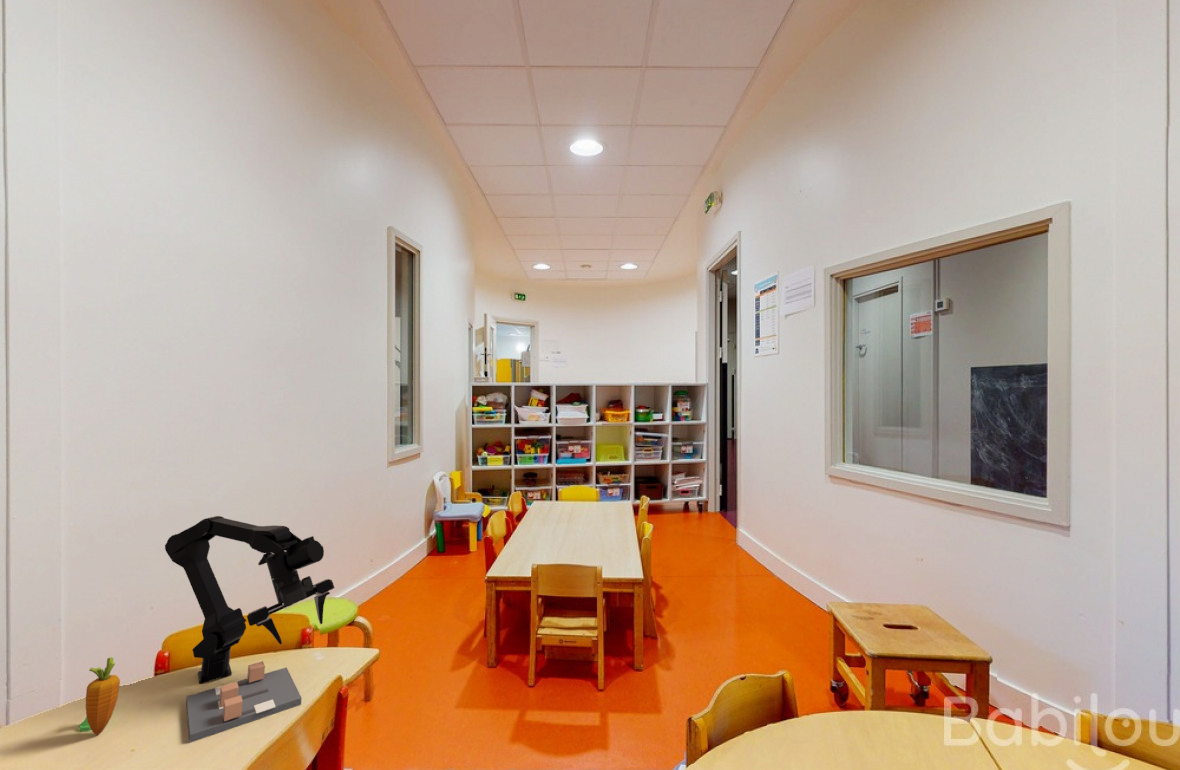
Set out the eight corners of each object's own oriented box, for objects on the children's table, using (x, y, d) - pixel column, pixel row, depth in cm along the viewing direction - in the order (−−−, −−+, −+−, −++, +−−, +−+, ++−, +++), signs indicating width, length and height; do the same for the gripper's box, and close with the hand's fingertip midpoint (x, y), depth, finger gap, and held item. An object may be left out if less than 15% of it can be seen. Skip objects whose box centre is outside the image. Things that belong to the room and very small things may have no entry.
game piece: (103, 727, 98) (106, 698, 99) (74, 734, 96) (78, 704, 97) (110, 716, 102) (114, 688, 103) (83, 722, 100) (86, 693, 100)
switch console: (185, 702, 108) (186, 695, 108) (286, 673, 121) (286, 666, 121) (189, 743, 95) (190, 735, 95) (301, 705, 108) (301, 697, 108)
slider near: (222, 714, 101) (224, 700, 101) (239, 709, 103) (240, 695, 103) (224, 721, 99) (225, 706, 99) (241, 715, 101) (242, 701, 101)
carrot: (91, 745, 93) (100, 668, 94) (73, 740, 94) (82, 664, 96) (121, 729, 98) (129, 656, 99) (103, 725, 99) (111, 653, 100)
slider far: (247, 677, 115) (248, 665, 115) (261, 673, 117) (262, 661, 118) (249, 682, 113) (250, 670, 113) (263, 678, 115) (264, 666, 115)
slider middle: (219, 699, 106) (220, 686, 106) (235, 694, 108) (237, 681, 108) (220, 705, 104) (222, 692, 104) (237, 700, 106) (238, 687, 106)
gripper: (242, 592, 108) (261, 658, 106) (329, 557, 120) (347, 615, 119) (239, 592, 116) (257, 653, 114) (321, 559, 128) (338, 614, 127)
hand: (301, 633), depth 118 cm, fingers open, 9 cm apart
